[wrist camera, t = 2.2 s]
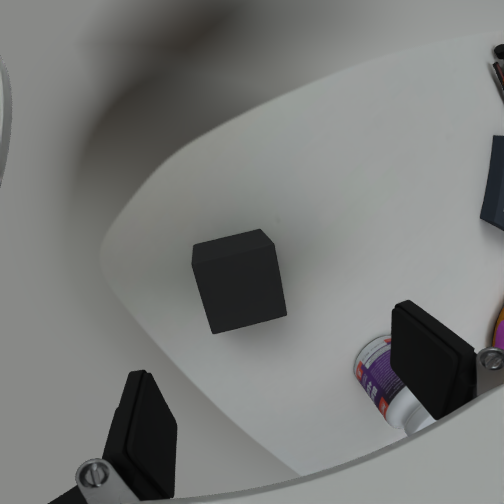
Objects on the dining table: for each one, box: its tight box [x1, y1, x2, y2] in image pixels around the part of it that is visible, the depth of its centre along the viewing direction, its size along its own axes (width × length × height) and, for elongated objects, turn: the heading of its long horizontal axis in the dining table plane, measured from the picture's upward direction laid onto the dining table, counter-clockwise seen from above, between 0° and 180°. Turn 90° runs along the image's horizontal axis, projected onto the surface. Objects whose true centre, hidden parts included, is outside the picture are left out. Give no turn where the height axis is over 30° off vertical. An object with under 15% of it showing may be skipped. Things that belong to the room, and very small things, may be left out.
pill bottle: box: [354, 336, 438, 436], centre depth 21 cm, size 5×5×10 cm
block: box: [191, 229, 287, 334], centre depth 19 cm, size 5×5×4 cm
